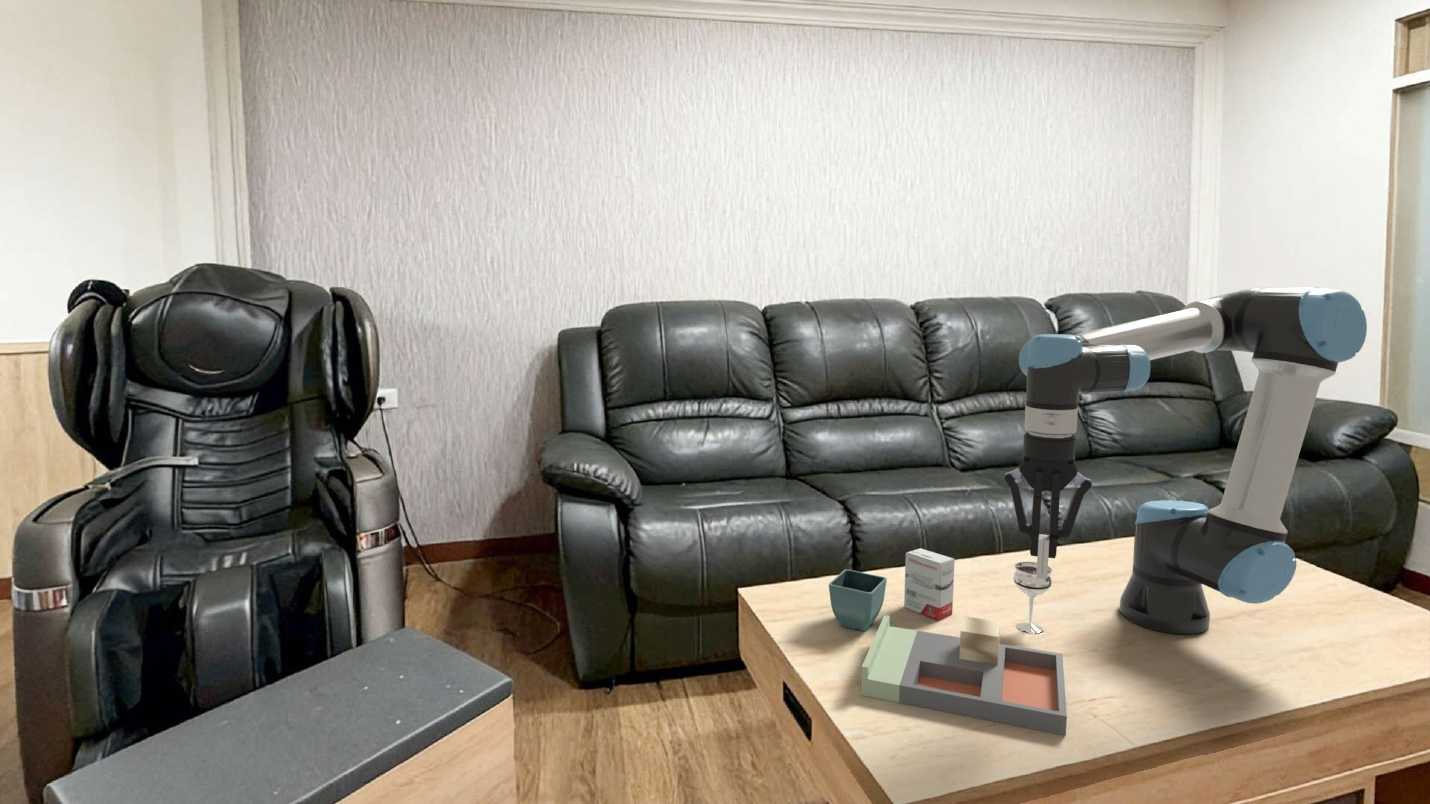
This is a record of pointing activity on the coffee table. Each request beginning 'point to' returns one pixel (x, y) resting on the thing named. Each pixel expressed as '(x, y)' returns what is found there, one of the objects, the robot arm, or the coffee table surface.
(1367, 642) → the coffee table surface
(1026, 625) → the wineglass
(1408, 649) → the coffee table surface
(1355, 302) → the robot arm
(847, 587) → the flower pot
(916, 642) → the grey compartment tray
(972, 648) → the birch block
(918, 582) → the ink box
